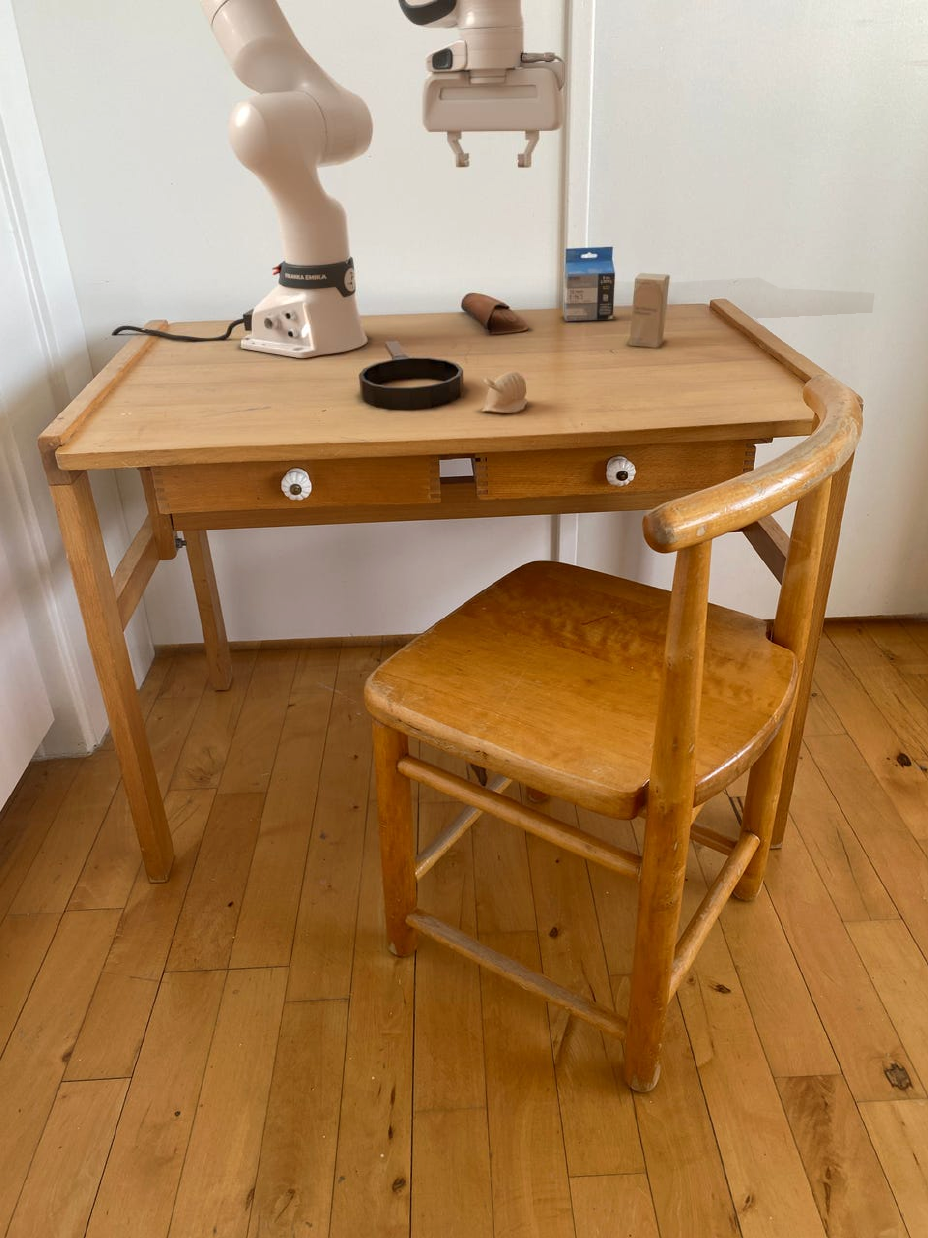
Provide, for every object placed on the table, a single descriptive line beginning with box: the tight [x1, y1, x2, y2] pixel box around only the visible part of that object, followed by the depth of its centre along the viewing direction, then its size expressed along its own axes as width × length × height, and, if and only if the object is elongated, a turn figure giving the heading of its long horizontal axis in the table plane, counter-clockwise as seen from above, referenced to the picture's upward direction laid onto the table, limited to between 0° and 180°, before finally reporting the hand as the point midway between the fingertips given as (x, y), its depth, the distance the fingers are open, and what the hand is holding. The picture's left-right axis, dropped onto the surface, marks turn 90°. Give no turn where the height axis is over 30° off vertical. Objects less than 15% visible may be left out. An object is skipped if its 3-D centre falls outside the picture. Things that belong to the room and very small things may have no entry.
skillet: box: [358, 340, 465, 411], centre depth 142 cm, size 26×15×3 cm, turn 14°
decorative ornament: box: [481, 370, 528, 414], centre depth 129 cm, size 4×8×5 cm, turn 132°
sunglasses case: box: [460, 292, 529, 335], centre depth 172 cm, size 18×7×7 cm
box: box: [628, 272, 671, 349], centre depth 154 cm, size 5×4×11 cm
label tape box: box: [563, 246, 616, 322], centre depth 169 cm, size 9×4×12 cm, turn 90°
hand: (493, 167), depth 132 cm, fingers open, 8 cm apart
